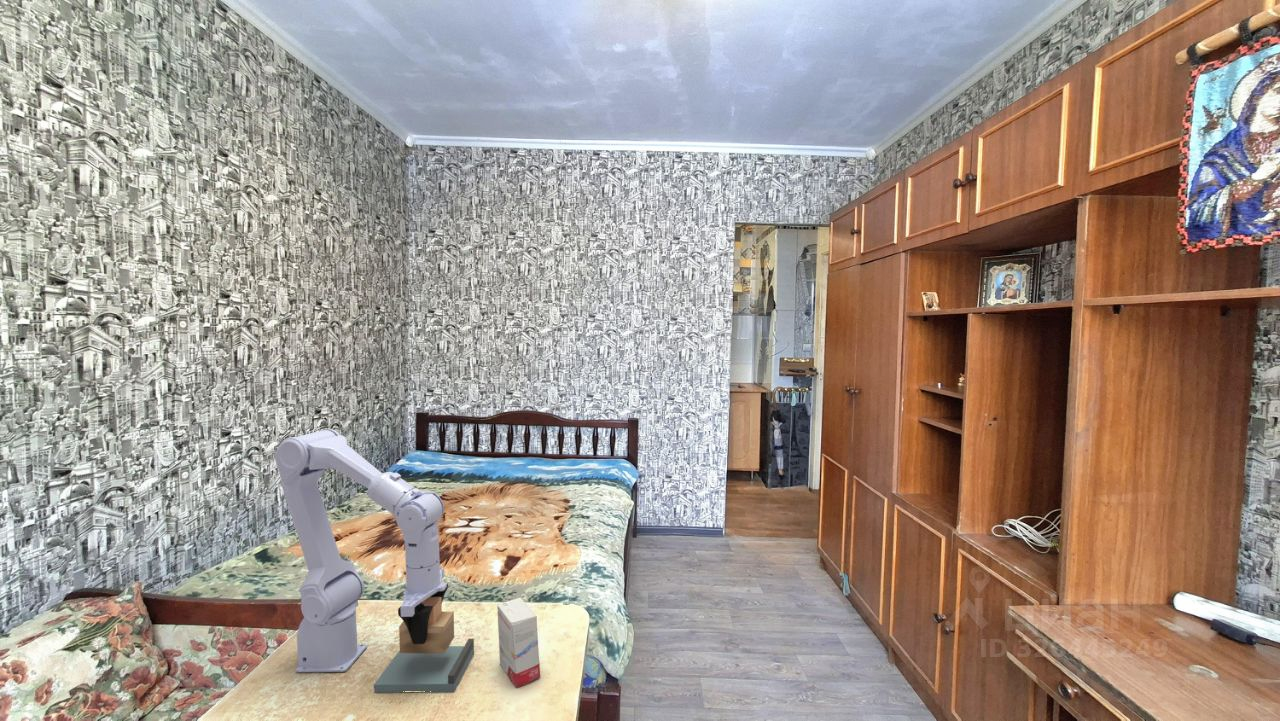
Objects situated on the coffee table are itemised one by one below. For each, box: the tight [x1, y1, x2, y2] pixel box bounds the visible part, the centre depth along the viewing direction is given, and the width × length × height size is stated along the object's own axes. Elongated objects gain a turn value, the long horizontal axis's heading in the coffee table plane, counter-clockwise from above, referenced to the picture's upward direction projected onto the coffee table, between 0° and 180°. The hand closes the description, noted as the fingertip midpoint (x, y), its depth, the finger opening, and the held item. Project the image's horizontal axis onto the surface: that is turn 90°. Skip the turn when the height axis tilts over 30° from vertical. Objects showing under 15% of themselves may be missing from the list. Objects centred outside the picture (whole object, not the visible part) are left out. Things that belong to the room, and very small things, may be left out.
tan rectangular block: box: [398, 611, 455, 653], centre depth 97 cm, size 8×5×5 cm, turn 90°
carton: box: [422, 597, 443, 624], centre depth 97 cm, size 4×4×3 cm
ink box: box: [496, 597, 541, 688], centre depth 98 cm, size 9×5×12 cm, turn 33°
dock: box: [373, 638, 475, 694], centre depth 98 cm, size 14×11×3 cm
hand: (425, 633), depth 97 cm, fingers closed on tan rectangular block, 5 cm apart
